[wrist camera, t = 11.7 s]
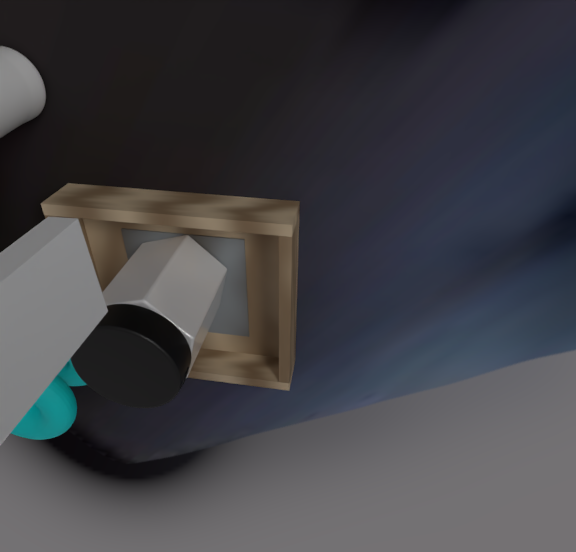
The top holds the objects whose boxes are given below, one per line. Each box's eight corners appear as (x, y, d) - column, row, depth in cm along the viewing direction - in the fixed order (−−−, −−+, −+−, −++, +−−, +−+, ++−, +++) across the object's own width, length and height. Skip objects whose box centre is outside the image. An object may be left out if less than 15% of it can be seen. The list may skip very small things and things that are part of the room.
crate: (299, 201, 37) (292, 225, 34) (295, 360, 47) (289, 390, 44) (68, 183, 39) (40, 203, 36) (112, 338, 49) (93, 365, 46)
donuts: (-22, 357, 39) (83, 417, 41) (47, 288, 47) (130, 342, 49) (-51, 407, 44) (43, 458, 47) (16, 337, 52) (92, 383, 55)
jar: (158, 314, 45) (98, 413, 35) (120, 244, 41) (41, 334, 31) (242, 303, 43) (203, 406, 33) (211, 227, 38) (156, 319, 29)
